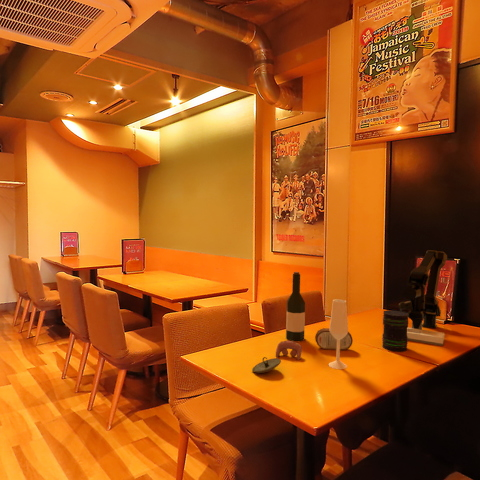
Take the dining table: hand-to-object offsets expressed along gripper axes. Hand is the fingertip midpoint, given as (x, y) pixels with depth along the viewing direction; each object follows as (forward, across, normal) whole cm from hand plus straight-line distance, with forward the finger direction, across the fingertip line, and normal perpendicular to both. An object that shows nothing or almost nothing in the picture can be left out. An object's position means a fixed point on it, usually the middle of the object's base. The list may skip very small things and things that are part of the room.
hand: (417, 329), depth 183 cm
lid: (+2, +82, -38) cm, 91 cm away
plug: (+2, 0, 0) cm, 2 cm away
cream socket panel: (+2, +11, 0) cm, 11 cm away
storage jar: (+2, +30, -5) cm, 30 cm away
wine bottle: (+2, +42, -45) cm, 62 cm away
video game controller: (+2, +64, -38) cm, 75 cm away
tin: (+2, +46, -26) cm, 53 cm away
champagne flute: (+2, +63, -19) cm, 66 cm away
